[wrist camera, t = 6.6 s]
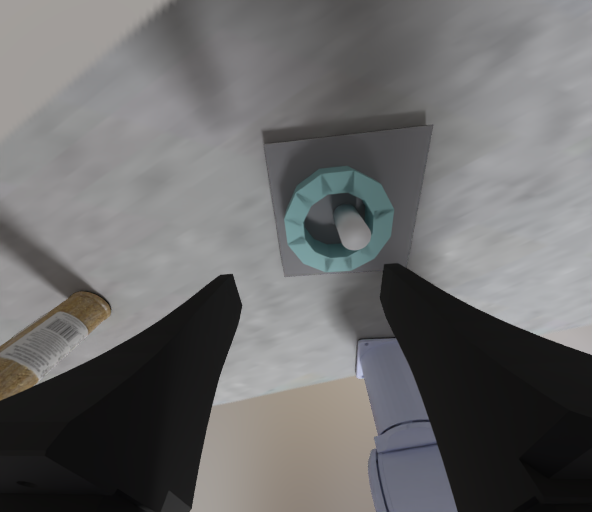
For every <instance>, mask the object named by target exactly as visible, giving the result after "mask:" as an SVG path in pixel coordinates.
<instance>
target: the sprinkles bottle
mask: <svg viewBox="0 0 592 512" xmlns="http://www.w3.org/2000/svg"><path fill="white" fill-rule="evenodd" d="M110 315H111V309H110V307H109V305H108V303H107V302H106V301H105V300H104V299H102V298H101V297H99V296H97V295H95V294H93V293H90V292H83V291H80V292H76V293H74V294H72V295H71V296H70V297H69V298H68V299H67V300H66V301H64V302H63V303H61V304H60V305H58V306H57V307H56V308H54V309H53V310H51V311H50V312H48V313H46V314H44V315H43V316H41V317H40V318H38V319H37V320H36V321H34V322H33V323H31V324H30V325H28V326H27V327H26V328H24V329H23V330H21V331H20V332H18V333H17V334H16V335H14V336H13V337H12V338H11V339H10V340H9V341H7V342H6V343H4V344H3V345H1V346H0V401H1V400H3V399H5V398H7V397H10V396H12V395H15V394H17V393H19V392H22V391H24V390H26V389H29V388H31V387H33V386H34V385H35V384H36V383H38V382H39V381H40V380H41V379H42V378H43V377H44V376H45V375H46V374H47V373H48V372H50V371H51V370H52V369H53V368H54V367H55V366H56V365H57V364H58V363H59V362H60V361H61V360H62V359H63V358H65V357H66V356H67V355H68V354H69V353H70V352H71V351H72V350H73V349H74V348H75V347H76V346H77V345H78V344H80V343H81V342H82V341H83V340H84V339H85V338H86V337H87V335H88V334H89V333H90V332H91V331H93V330H94V329H95V328H96V327H97V326H98V325H99V324H100V323H101V322H102V321H103V320H105V319H107V318H108V317H109V316H110Z"/></svg>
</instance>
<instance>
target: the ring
mask: <svg viewBox="0 0 592 512" xmlns="http://www.w3.org/2000/svg"><path fill="white" fill-rule="evenodd" d="M338 193H350V194H352V195H354V196H356V197H358V198H360V199H362V201H363V203H364V205H365V223H366V225H367V226H368V228H369V229H370V231H371V239H370V242H369V243H368V244H367V245H366V246H365V247H364V248H362V249H360V250H349V249H347V248H345V247H344V246H343V244H342V243H339V244H325V243H322V242H320V241H318V240H315V239H313V237H312V236H311V235H310V233H309V232H308V231H307V229H306V228H305V224H304V220H305V218H306V216H307V214H308V212H309V210H310V208H311V206H312V205H313V204H315V203H316V202H318V201H319V200H321V199H322V198H323V197H325V196H326V195H328V194H338ZM393 215H394V208H393V206H392V204H391V202H390V200H389V198H388V196H387V194H386V192H385V191H384V189H383V187H382V184H380V183H379V182H377V181H376V180H374V179H373V178H371V177H369V176H367V175H365V174H363V173H361V172H359V171H357V170H355V169H353V168H351V167H349V166H340V167H331V168H322V169H318V170H317V171H316V172H314V173H313V174H312V175H310V176H309V177H308V178H306V179H305V180H304V181H302V182H301V183H300V184H298V185H297V186H296V189H295V191H294V193H293V196H292V198H291V200H290V202H289V205H288V207H287V209H286V213H285V218H284V222H285V229H286V236H287V243H288V246H289V247H290V248H291V249H292V251H293V252H294V253H295V254H296V255H297V257H298V258H299V259H300V260H301V261H302V263H303V264H306V265H308V266H311V267H313V268H316V269H318V270H321V271H323V272H341V271H352V270H354V269H356V268H357V267H359V266H361V265H363V264H365V263H367V262H369V261H371V260H372V259H375V257H376V256H377V255H378V253H379V252H380V250H381V249H382V248H383V246H384V245H385V244H386V242H387V241H388V240H389V238H390V237H391V231H392V223H393Z"/></svg>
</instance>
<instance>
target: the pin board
mask: <svg viewBox="0 0 592 512" xmlns="http://www.w3.org/2000/svg"><path fill="white" fill-rule="evenodd" d="M432 129H433V125H425V126H416V127H408V128H399V129H390V130H382V131H373V132H364V133H356V134H347V135H339V136H330V137H321V138H313V139H304V140H295V141H287V142H278V143H270V144H264V150H265V156H266V162H267V169H268V175H269V181H270V188H271V194H272V200H273V207H274V213H275V219H276V226H277V232H278V238H279V245H280V251H281V258H282V264H283V270H284V277H290V276H305V275H321V274H336V273H351V272H367V271H382V270H383V268H384V264H392V263H398V264H400V265H402V266H404V267H405V268H407V264H408V258H409V253H410V248H411V242H412V237H413V231H414V226H415V221H416V215H417V210H418V205H419V199H420V194H421V188H422V183H423V178H424V172H425V167H426V162H427V156H428V151H429V146H430V140H431V135H432ZM340 166H349V167H351V168H353V169H355V170H357V171H359V172H361V173H363V174H365V175H367V176H369V177H371V178H373V179H374V180H376V181H377V182H379V183H380V184H382V187H383V189H384V191H385V192H386V194H387V196H388V198H389V200H390V202H391V204H392V206H393V208H394V215H393V223H392V231H391V237H390V238H389V240H388V241H387V242H386V244H385V245H384V246H383V248H382V249H381V250H380V252H379V253H378V255H377V256H376V257H375V259H372V260H371V261H369V262H367V263H365V264H363V265H361V266H359V267H357V268H356V269H354V270H352V271H341V272H323V271H321V270H318V269H316V268H313V267H311V266H308V265H306V264H303V263H302V261H301V260H300V259H299V258H298V257H297V255H296V254H295V253H294V252H293V251H292V249H291V248H290V247H289V246H288V243H287V236H286V229H285V222H284V218H285V213H286V209H287V207H288V205H289V202H290V200H291V198H292V196H293V193H294V191H295V189H296V186H297V185H298V184H300V183H301V182H302V181H304V180H305V179H306V178H308V177H309V176H310V175H312V174H313V173H314V172H316V171H317V170H318V169H322V168H331V167H340ZM304 224H305V228H306V229H307V231H308V232H309V233H310V235H311V236H312V237H313V239H315V240H318V241H320V242H322V243H325V244H339V243H342V244H343V246H344V247H345V248H347V249H349V250H360V249H362V248H364V247H365V246H366V245H367V244H368V243H369V242H370V239H371V231H370V229H369V228H368V226H367V225H366V223H365V205H364V203H363V201H362V199H360V198H358V197H356V196H354V195H352V194H350V193H338V194H328V195H326V196H325V197H323V198H322V199H321V200H319V201H318V202H316V203H315V204H313V205H312V206H311V208H310V210H309V212H308V214H307V216H306V218H305V220H304Z"/></svg>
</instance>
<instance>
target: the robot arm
mask: <svg viewBox="0 0 592 512" xmlns="http://www.w3.org/2000/svg"><path fill="white" fill-rule="evenodd" d="M380 300H381V303H382V307H383V310H384V313H385V316H386V318H387V320H388V323H389V325H390V327H391V329H392V331H393V333H394V335H395V337H396V338H389V339H363V340H359V341H358V350H357V366H356V377H357V378H360V379H361V378H364V380H365V384H366V388H367V392H368V396H369V400H370V404H371V409H372V412H373V417H374V421H375V424H376V429H377V433H378V436H376V437H374V440H375V444H376V449H373V450H372V451H371V453H370V457H369V461H368V474H369V482H370V488H371V492H372V497H373V501H374V506H375V509H376V512H592V355H590V354H587V353H584V352H581V351H579V350H575V349H573V348H570V347H567V346H564V345H562V344H559V343H556V342H554V341H551V340H548V339H545V338H543V337H540V336H538V335H536V334H533V333H531V332H528V331H526V330H523V329H521V328H518V327H516V326H513V325H511V324H509V323H507V322H504V321H502V320H500V319H497V318H495V317H493V316H491V315H489V314H487V313H485V312H483V311H480V310H478V309H476V308H474V307H472V306H470V305H468V304H466V303H465V302H463V301H461V300H459V299H457V298H455V297H454V296H452V295H450V294H448V293H446V292H445V291H443V290H441V289H439V288H438V287H436V286H434V285H433V284H431V283H430V282H428V281H426V280H425V279H423V278H421V277H420V276H418V275H417V274H415V273H414V272H412V271H410V270H409V269H407V268H405V267H404V266H402V265H400V264H398V263H392V264H384V268H383V277H382V285H381V293H380ZM241 309H242V303H241V300H240V297H239V293H238V290H237V287H236V283H235V280H234V277H233V274H225V275H220V276H218V277H217V278H215V279H214V280H213V281H211V282H210V283H209V284H208V285H206V286H205V287H204V288H203V289H201V290H200V291H199V292H197V293H196V294H195V295H194V296H192V297H191V298H190V299H189V300H187V301H186V302H185V303H183V304H182V305H181V306H179V307H178V308H176V309H175V310H174V311H172V312H171V313H170V314H168V315H167V316H165V317H164V318H163V319H161V320H160V321H158V322H157V323H155V324H154V325H152V326H150V327H149V328H147V329H146V330H144V331H142V332H141V333H139V334H137V335H136V336H134V337H132V338H130V339H129V340H127V341H125V342H123V343H122V344H120V345H118V346H116V347H114V348H113V349H111V350H109V351H107V352H105V353H103V354H102V355H100V356H98V357H96V358H94V359H92V360H90V361H88V362H86V363H84V364H82V365H79V366H77V367H75V368H73V369H71V370H69V371H67V372H65V373H63V374H60V375H58V376H56V377H54V378H52V379H49V380H47V381H45V382H42V383H40V384H38V385H35V386H33V387H31V388H29V389H26V390H24V391H22V392H19V393H17V394H15V395H12V396H10V397H7V398H5V399H3V400H1V401H0V512H190V510H191V509H192V503H193V497H194V491H195V486H196V480H197V475H198V469H199V464H200V459H201V453H202V449H203V444H204V439H205V435H206V430H207V425H208V421H209V417H210V412H211V408H212V404H213V400H214V396H215V392H216V388H217V384H218V381H219V377H220V374H221V371H222V368H223V365H224V362H225V360H226V357H227V354H228V351H229V349H230V346H231V343H232V340H233V338H234V335H235V332H236V329H237V326H238V323H239V319H240V314H241Z"/></svg>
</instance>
